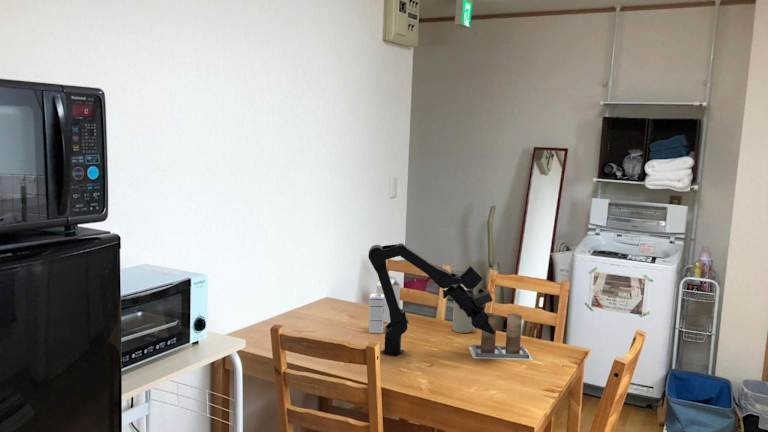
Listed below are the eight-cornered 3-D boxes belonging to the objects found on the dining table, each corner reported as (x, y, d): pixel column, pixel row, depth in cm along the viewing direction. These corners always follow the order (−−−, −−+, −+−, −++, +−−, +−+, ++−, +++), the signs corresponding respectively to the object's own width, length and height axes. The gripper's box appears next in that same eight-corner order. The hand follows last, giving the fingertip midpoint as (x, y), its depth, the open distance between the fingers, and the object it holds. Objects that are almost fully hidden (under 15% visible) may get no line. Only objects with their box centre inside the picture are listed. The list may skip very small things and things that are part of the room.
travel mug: (449, 331, 255) (451, 287, 253) (456, 326, 262) (458, 283, 260) (468, 334, 251) (470, 290, 249) (475, 329, 258) (477, 286, 256)
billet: (488, 356, 223) (490, 317, 222) (477, 352, 227) (479, 314, 225) (497, 353, 226) (499, 315, 225) (486, 349, 230) (488, 312, 229)
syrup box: (383, 333, 249) (384, 297, 247) (368, 332, 249) (369, 296, 247) (383, 329, 255) (384, 293, 253) (369, 328, 255) (370, 293, 253)
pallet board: (472, 360, 221) (473, 354, 221) (468, 349, 233) (468, 343, 233) (533, 362, 221) (533, 356, 221) (525, 351, 233) (525, 345, 233)
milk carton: (389, 323, 263) (390, 278, 261) (375, 320, 267) (376, 275, 265) (399, 320, 268) (400, 275, 266) (385, 316, 273) (387, 273, 270)
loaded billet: (517, 356, 223) (519, 318, 222) (503, 354, 226) (505, 315, 224) (521, 352, 228) (523, 314, 226) (507, 350, 230) (510, 312, 228)
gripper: (483, 289, 215) (514, 322, 216) (475, 277, 233) (503, 307, 234) (459, 311, 215) (489, 343, 217) (453, 297, 234) (481, 327, 235)
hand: (491, 329), depth 226 cm, fingers open, 9 cm apart
